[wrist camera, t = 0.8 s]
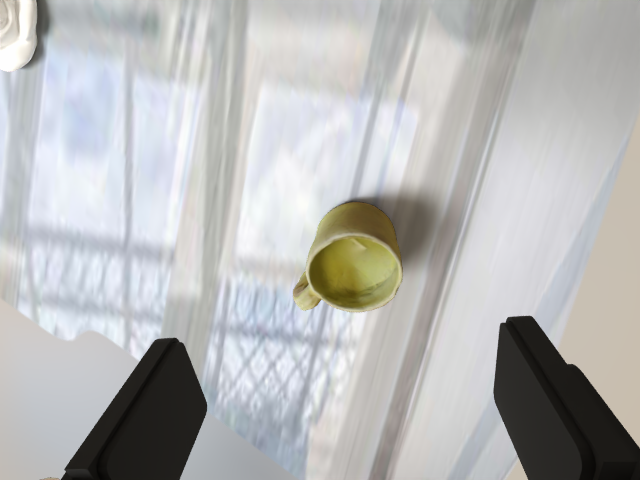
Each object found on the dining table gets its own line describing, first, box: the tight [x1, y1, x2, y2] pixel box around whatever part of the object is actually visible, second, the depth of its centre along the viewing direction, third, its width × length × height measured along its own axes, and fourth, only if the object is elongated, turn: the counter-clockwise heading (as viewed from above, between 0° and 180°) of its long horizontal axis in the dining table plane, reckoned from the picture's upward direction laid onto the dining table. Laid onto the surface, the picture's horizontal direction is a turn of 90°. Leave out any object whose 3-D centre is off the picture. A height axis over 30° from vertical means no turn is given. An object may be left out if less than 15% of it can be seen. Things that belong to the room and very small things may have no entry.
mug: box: [293, 202, 403, 312], centre depth 37 cm, size 12×10×10 cm
